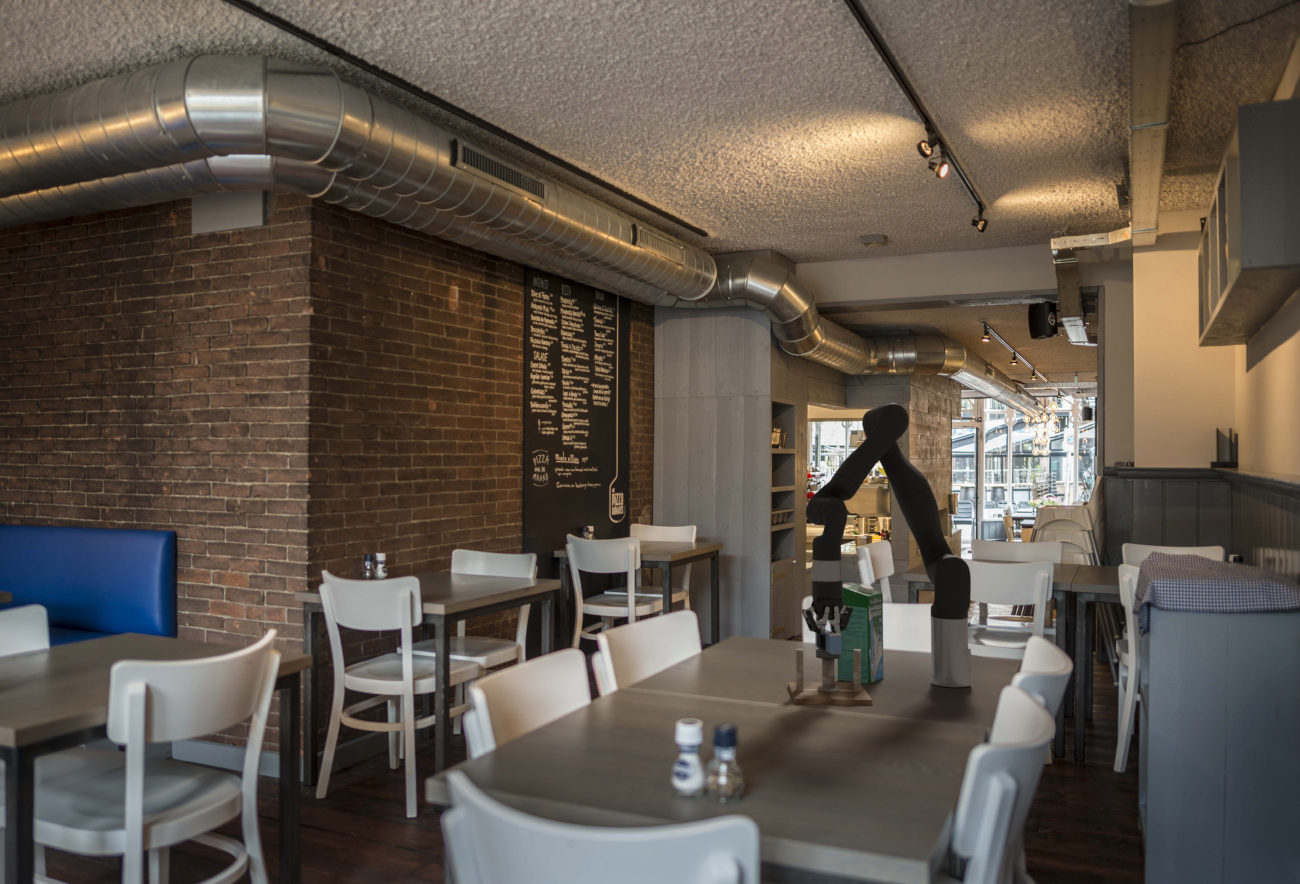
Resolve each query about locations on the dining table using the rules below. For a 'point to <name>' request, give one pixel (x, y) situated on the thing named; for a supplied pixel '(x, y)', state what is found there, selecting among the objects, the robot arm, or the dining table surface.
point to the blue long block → (830, 646)
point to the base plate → (829, 696)
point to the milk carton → (862, 633)
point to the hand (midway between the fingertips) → (827, 648)
